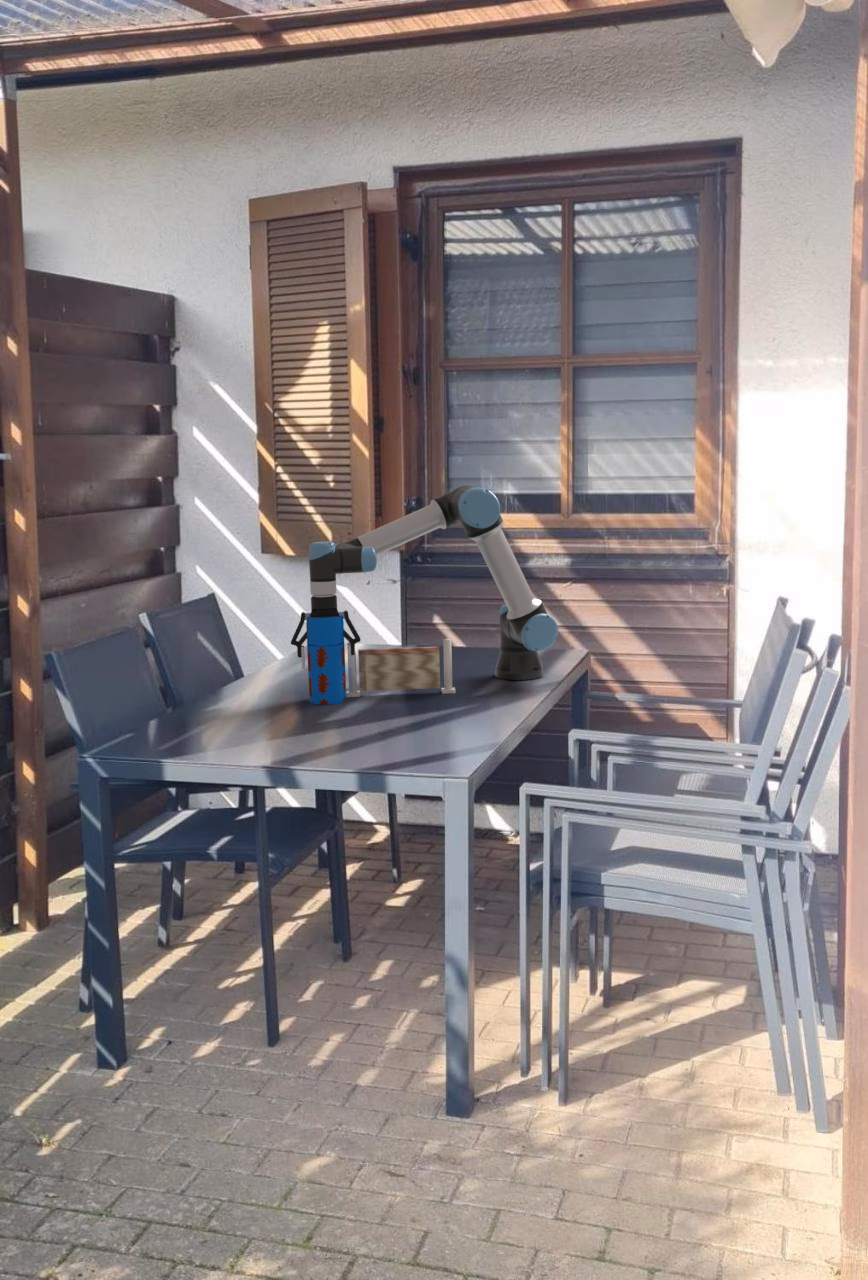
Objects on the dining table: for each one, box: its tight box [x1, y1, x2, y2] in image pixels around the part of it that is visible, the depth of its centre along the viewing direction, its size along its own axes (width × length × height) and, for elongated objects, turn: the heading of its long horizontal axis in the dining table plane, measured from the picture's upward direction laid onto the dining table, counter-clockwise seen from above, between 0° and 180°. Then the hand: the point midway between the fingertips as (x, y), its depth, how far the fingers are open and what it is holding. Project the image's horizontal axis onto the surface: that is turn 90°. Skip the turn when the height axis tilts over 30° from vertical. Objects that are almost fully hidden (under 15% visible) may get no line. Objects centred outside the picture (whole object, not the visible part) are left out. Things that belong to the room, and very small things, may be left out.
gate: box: [357, 645, 441, 692], centre depth 411 cm, size 24×2×12 cm, turn 93°
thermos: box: [305, 616, 347, 705], centre depth 403 cm, size 11×11×25 cm
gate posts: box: [346, 638, 457, 698], centre depth 411 cm, size 32×4×16 cm, turn 93°
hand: (326, 667), depth 403 cm, fingers open, 13 cm apart
